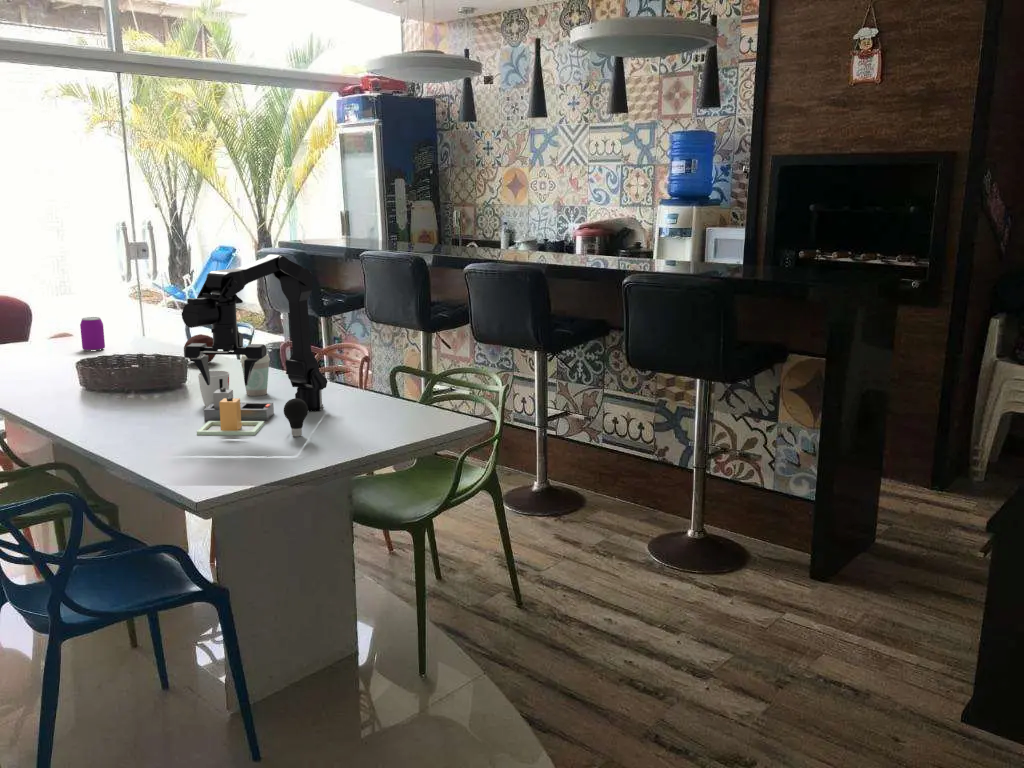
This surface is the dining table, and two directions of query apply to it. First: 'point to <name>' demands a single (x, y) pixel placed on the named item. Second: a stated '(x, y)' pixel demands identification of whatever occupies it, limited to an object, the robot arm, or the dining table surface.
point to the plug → (230, 414)
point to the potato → (201, 339)
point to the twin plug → (221, 396)
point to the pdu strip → (243, 412)
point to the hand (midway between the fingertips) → (227, 385)
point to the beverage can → (92, 333)
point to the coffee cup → (257, 377)
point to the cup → (213, 385)
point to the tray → (204, 431)
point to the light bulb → (296, 415)
